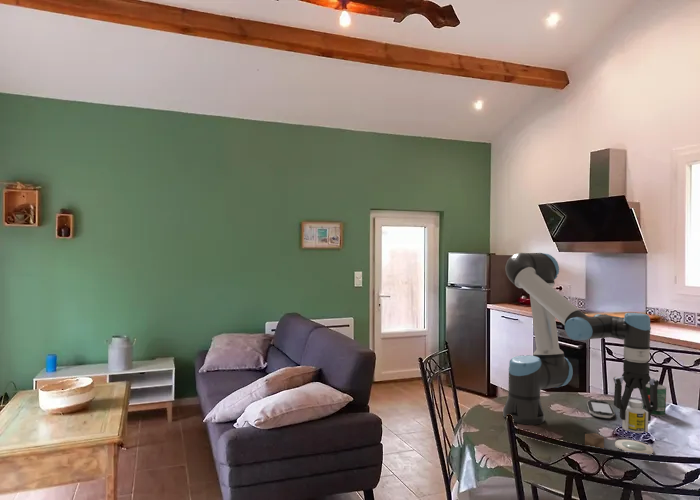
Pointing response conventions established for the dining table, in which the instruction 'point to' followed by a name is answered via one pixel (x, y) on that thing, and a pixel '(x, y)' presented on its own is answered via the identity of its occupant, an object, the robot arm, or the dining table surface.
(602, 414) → the gaming console
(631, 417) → the supplement bottle
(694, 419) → the dining table surface
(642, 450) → the saucer
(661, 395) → the canned tomato
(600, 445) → the walnut block
